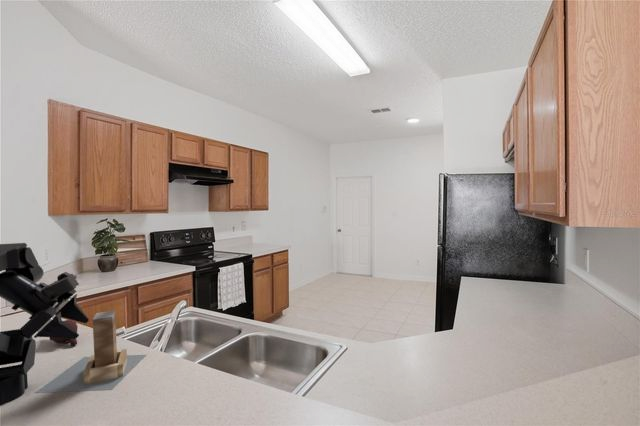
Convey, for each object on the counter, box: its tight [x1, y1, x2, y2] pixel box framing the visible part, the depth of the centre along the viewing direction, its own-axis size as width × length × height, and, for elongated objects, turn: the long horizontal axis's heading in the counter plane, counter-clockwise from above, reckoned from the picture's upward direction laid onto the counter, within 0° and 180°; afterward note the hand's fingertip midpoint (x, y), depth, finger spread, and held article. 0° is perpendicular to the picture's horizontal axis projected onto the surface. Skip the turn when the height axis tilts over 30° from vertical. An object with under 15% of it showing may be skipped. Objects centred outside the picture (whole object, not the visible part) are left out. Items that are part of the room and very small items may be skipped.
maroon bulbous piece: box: [48, 319, 78, 347], centre depth 98 cm, size 7×7×15 cm
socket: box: [83, 348, 128, 385], centre depth 79 cm, size 8×9×3 cm
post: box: [92, 310, 118, 368], centre depth 79 cm, size 4×5×15 cm
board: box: [34, 354, 147, 394], centre depth 79 cm, size 16×17×1 cm
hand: (82, 328), depth 79 cm, fingers open, 9 cm apart
